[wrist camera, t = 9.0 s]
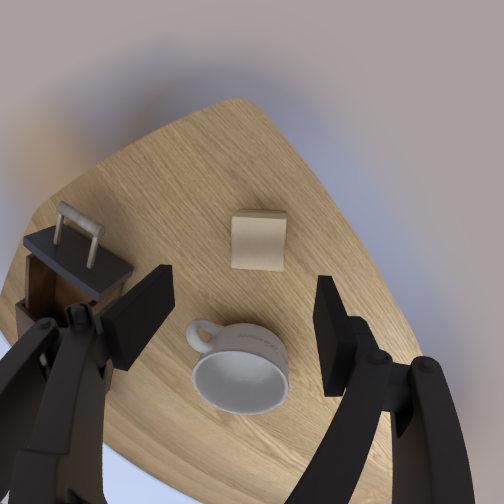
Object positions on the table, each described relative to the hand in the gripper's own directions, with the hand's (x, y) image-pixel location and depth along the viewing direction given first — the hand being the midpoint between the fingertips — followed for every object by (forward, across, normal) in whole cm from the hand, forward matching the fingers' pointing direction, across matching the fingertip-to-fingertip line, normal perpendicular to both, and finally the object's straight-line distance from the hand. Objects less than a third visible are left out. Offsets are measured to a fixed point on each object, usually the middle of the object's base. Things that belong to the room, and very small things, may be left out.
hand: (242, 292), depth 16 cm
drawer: (+14, -24, -7) cm, 29 cm away
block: (+15, 0, 0) cm, 15 cm away
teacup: (+16, -2, -14) cm, 21 cm away
